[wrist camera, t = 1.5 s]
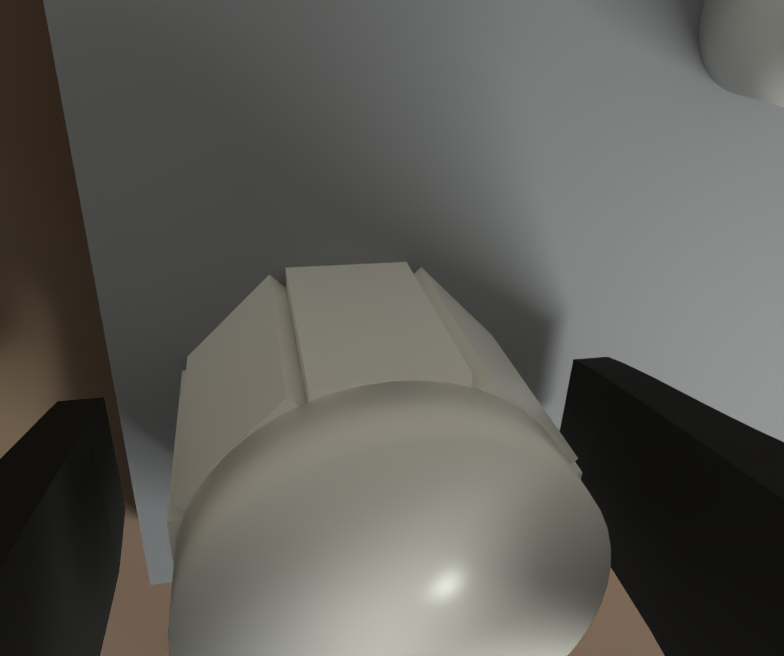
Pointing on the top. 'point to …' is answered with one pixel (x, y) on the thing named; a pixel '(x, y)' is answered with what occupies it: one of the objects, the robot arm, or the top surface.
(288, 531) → the cap
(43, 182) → the top surface
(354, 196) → the board
